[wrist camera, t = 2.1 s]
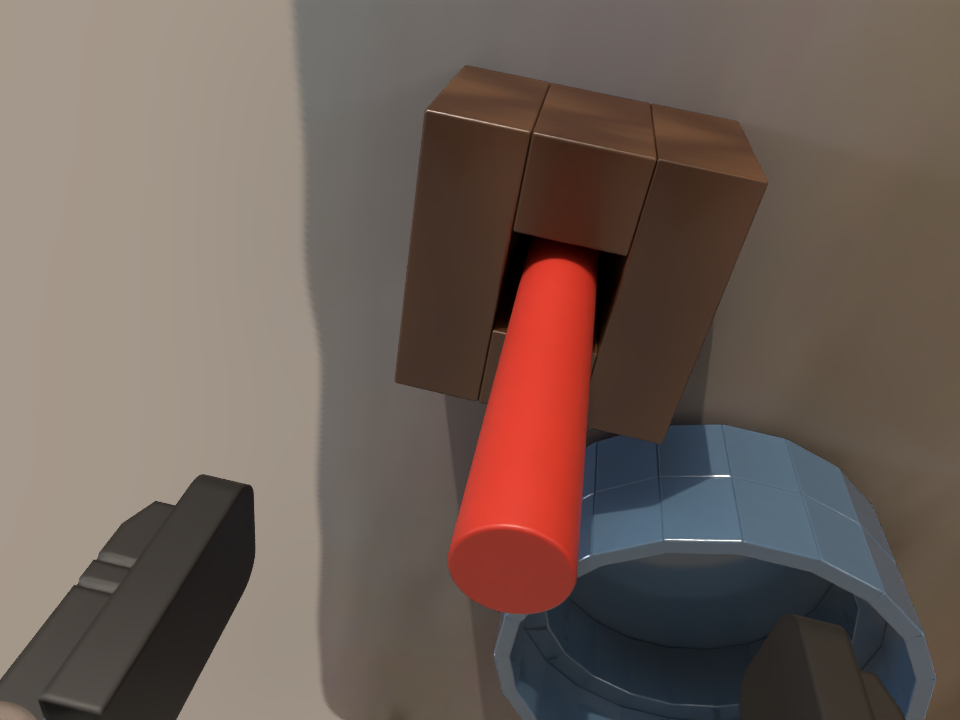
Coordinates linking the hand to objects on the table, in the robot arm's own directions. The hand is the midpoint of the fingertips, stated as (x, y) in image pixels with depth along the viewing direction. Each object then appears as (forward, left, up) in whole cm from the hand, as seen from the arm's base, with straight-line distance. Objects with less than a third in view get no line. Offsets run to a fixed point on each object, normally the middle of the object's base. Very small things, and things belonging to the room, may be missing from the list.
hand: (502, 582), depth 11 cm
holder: (0, 0, -14) cm, 14 cm away
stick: (0, 0, -14) cm, 14 cm away
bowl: (-8, +13, -14) cm, 21 cm away
